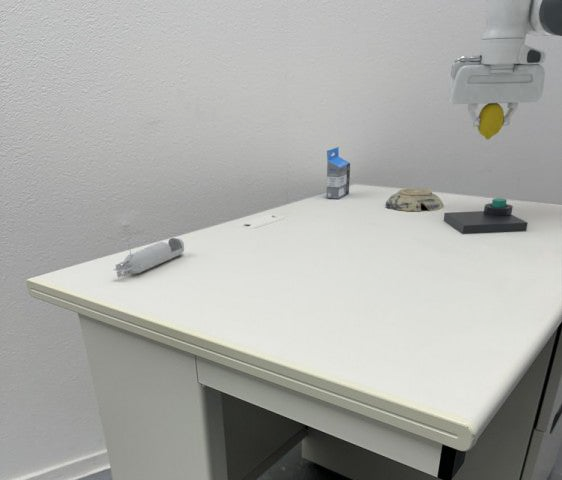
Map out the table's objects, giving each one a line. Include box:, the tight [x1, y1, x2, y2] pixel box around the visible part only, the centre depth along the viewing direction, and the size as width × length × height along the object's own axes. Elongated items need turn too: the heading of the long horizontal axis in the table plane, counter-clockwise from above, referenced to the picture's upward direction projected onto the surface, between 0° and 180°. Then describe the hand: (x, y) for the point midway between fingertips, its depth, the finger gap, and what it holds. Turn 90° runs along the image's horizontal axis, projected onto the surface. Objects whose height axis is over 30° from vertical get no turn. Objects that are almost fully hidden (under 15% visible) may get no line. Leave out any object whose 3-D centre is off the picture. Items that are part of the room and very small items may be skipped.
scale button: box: [491, 197, 508, 208], centre depth 123 cm, size 3×3×2 cm
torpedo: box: [113, 237, 185, 278], centre depth 100 cm, size 18×5×6 cm, turn 152°
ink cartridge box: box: [325, 146, 351, 200], centre depth 151 cm, size 9×4×12 cm, turn 155°
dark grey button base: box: [443, 202, 529, 235], centre depth 121 cm, size 14×12×4 cm
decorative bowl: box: [385, 187, 444, 213], centre depth 140 cm, size 15×4×15 cm
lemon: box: [476, 103, 505, 141], centre depth 123 cm, size 6×6×8 cm
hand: (489, 125), depth 124 cm, fingers closed on lemon, 5 cm apart
